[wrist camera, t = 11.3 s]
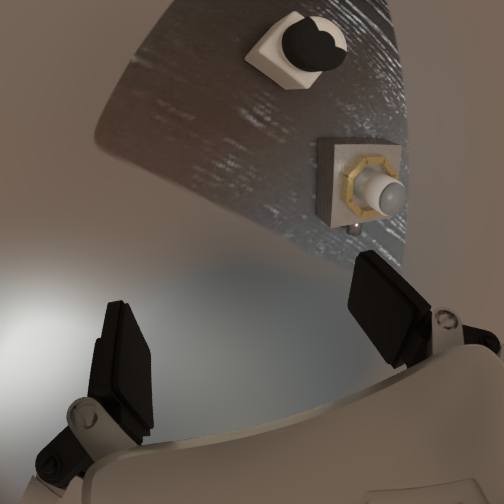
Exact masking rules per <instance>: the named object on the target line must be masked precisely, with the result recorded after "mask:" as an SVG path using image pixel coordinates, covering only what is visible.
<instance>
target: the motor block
mask: <svg viewBox="0 0 504 504" xmlns="http://www.w3.org/2000/svg"><path fill="white" fill-rule="evenodd" d="M401 149H402V145H400V144H397V143H394V142H391V141H388V140H385V139H380V138H317V183H316V212H315V214H316V215H317V216H318V217H319V218H320V219H321V220H322V221H323V222H324V223H326V224H327V225H328V226H329V227H330V228H334V227H340V226H346V225H347V231H346V232H347V234H349V235H352V236H358V235H360V234H361V227H362V223H363V222H369V221H375V220H381V219H387V218H393V216H384V215H382V214H381V213H379V212H378V211H376V210H375V209H373V208H372V207H370V206H369V205H368V204H366V203H365V202H363V201H362V200H360V199H359V198H358V197H357V196H356V194H355V191H354V184H355V180H356V178H357V176H358V175H359V174H360V173H361V172H362V171H363V170H365V169H368V168H373V169H375V170H377V171H380V172H382V173H384V174H386V175H388V176H390V177H392V178H394V179H396V180H398V179H399V170H400V160H401Z"/></svg>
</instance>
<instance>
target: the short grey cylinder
mask: <svg viewBox="0 0 504 504" xmlns="http://www.w3.org/2000/svg"><path fill="white" fill-rule="evenodd" d="M354 191H355V194H356V196H357V197H358V198H359V199H360V200H362V201H363V202H365V203H366V204H368V205H369V206H370V207H372V208H373V209H375V210H376V211H378V212H379V213H381V214H382V215H384V216H393V215H396V214H397V213H399V212H400V211H401V209H402V208H403V206H404V204H405V202H406V190H405V188H404V186H403V184H402V183H401V182H400V181H398V180H396V179H394V178H392V177H390V176H388V175H386V174H384V173H382V172H380V171H377V170H375V169H373V168H368V169H365V170H363V171H362V172H361V173H360V174H359V175H358V176H357V178H356V180H355V184H354Z"/></svg>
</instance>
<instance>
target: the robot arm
mask: <svg viewBox="0 0 504 504" xmlns="http://www.w3.org/2000/svg"><path fill="white" fill-rule="evenodd" d="M348 309H349V311H350V313H351V314H352V315H353V317H354V318H355V319H356V321H357V322H358V323H359V325H360V326H361V328H362V329H363V330H364V332H365V333H366V335H367V336H368V337H369V339H370V340H371V341H372V343H373V344H374V346H375V347H376V348H377V350H378V351H379V353H380V354H381V356H382V357H383V358H384V360H385V361H386V362H387V363H388V364H391V366H392V367H393V368H394V369H396V368H398V367H400V366H402V365H403V364H404V363H405V364H406V366H407V369H406V370H404V371H402V372H400V373H398V374H396V375H394V376H392V377H390V378H388V379H386V380H383V381H381V382H379V383H377V384H375V385H373V386H370V387H368V388H366V389H363V390H361V391H359V392H356V393H354V394H351V395H349V396H346V397H344V398H341V399H339V400H336V401H333V402H331V403H328V404H325V405H322V406H320V407H317V408H314V409H311V410H308V411H305V412H302V413H298V414H295V415H292V416H289V417H285V418H282V419H278V420H275V421H271V422H267V423H264V424H260V425H256V426H252V427H248V428H243V429H238V430H234V431H229V432H224V433H219V434H213V435H208V436H202V437H196V438H190V439H184V440H176V441H168V442H162V443H154V444H147V445H141V443H142V442H143V436H150V429H153V427H154V421H153V407H152V385H151V353H150V350H149V347H148V345H147V343H146V341H145V339H144V337H143V335H142V333H141V331H140V328H139V326H138V324H137V322H136V319H135V317H134V315H133V313H132V310H131V308H130V306H129V304H128V303H124V302H123V301H122V300H120V301H114V302H109V303H108V305H107V310H106V314H105V319H104V325H103V329H102V335H101V338H98V339H97V340H96V343H95V347H94V353H93V359H92V366H91V372H90V379H89V386H88V395H87V397H83V398H79V399H77V400H75V401H74V402H73V403H72V404H71V405H70V407H69V409H68V411H67V423H68V426H67V427H66V428H65V429H64V430H63V431H62V432H60V433H59V434H58V435H57V436H56V437H55V438H54V439H53V440H52V441H51V442H50V443H49V444H48V445H47V446H46V447H45V448H44V449H43V450H42V451H40V453H39V454H38V455H37V458H36V462H35V467H36V471H37V475H36V477H35V476H32V478H31V480H30V481H29V484H28V485H27V488H26V490H25V492H24V494H23V496H22V498H21V500H20V502H19V504H80V503H81V504H504V344H502V345H501V346H500V342H499V340H498V338H497V337H496V336H495V335H494V334H493V333H491V332H489V331H486V330H482V329H478V328H473V327H470V326H466V325H462V322H461V319H460V317H459V316H458V314H456V312H454V311H453V310H451V309H449V308H444V307H440V308H437V309H435V310H434V311H433V313H432V312H431V311H430V309H431V305H430V304H428V303H427V301H426V300H425V299H424V298H423V297H422V296H421V295H420V294H419V293H418V292H417V291H416V290H415V289H414V288H413V287H412V286H411V285H410V284H409V283H408V282H407V281H405V279H404V278H403V277H402V276H401V275H399V274H398V273H397V272H396V271H395V270H394V269H393V268H392V267H391V266H390V265H389V264H388V263H387V262H386V261H385V260H384V259H382V258H381V257H380V256H379V255H378V254H377V253H376V252H375V251H373V250H368V251H364V252H360V253H359V255H358V256H357V257H356V260H355V266H354V272H353V278H352V283H351V289H350V294H349V299H348Z"/></svg>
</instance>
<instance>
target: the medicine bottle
mask: <svg viewBox="0 0 504 504" xmlns="http://www.w3.org/2000/svg"><path fill="white" fill-rule="evenodd" d="M346 52H347V45H346V41H345V38H344V36H343V34H342V32H341V31H340V29H339V28H338V27H337V26H336V25H335V24H333V23H332V22H331V21H329V20H327V19H325V18H321V17H315V16H312V17H306V18H304V17H303V16H302V15H300V14H299V13H298V12H296V11H294V12H292V13H290V14H289V15H287V16H286V17H284V18H283V19H281V20H279V21H278V22H276V23H275V24H274V25H273V26H272V27H271V28H270V29H269V30H268V31H267V32H266V33H265V34H264V36H263V37H262V38H261V39H260V40H259V41H258V42H257V43H256V45H255V46H254V47H253V48H252V49H251V50H250V52H249V53H248V54H247V55H246V56H245V58H244V59H245V61H247V62H248V63H250V64H251V65H252V66H254V67H255V68H257V69H258V70H260V71H261V72H262V73H264V74H265V75H266V76H268V77H269V78H271V79H272V80H273V81H275V82H276V83H277V84H278V85H280V86H281V87H282V88H284V89H285V90H289V89H308V88H310V86H311V85H312V84H313V83H314V81H315V80H316V79H317V78H318V76H319V75H320V74H321V73H322V71H329V70H332V69H335V68H337V67H338V66H339V65H340V64H341V63H342V62H343V60H344V59H345V56H346Z"/></svg>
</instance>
